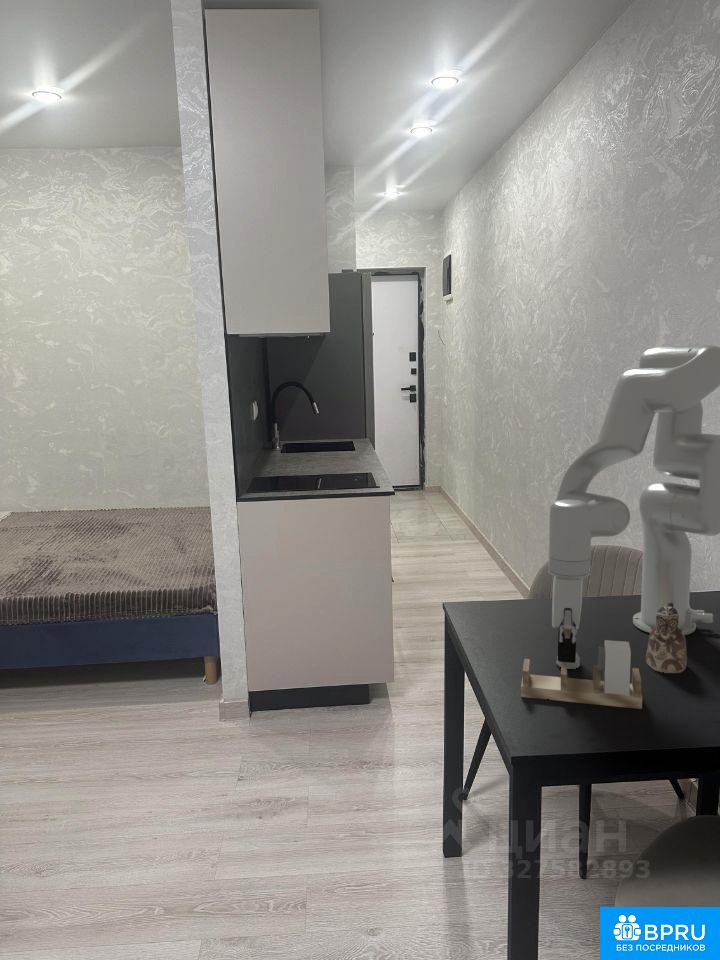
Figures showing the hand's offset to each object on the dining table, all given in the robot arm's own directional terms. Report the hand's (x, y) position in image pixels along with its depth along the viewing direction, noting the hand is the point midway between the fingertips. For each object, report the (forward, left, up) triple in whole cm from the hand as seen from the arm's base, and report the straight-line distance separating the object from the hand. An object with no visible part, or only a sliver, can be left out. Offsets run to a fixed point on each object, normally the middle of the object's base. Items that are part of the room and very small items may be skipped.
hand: (566, 651), depth 134 cm
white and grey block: (-8, +12, -1) cm, 14 cm away
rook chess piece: (0, 0, -3) cm, 3 cm away
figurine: (-18, -4, -3) cm, 19 cm away
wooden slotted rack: (-2, +12, -3) cm, 12 cm away
